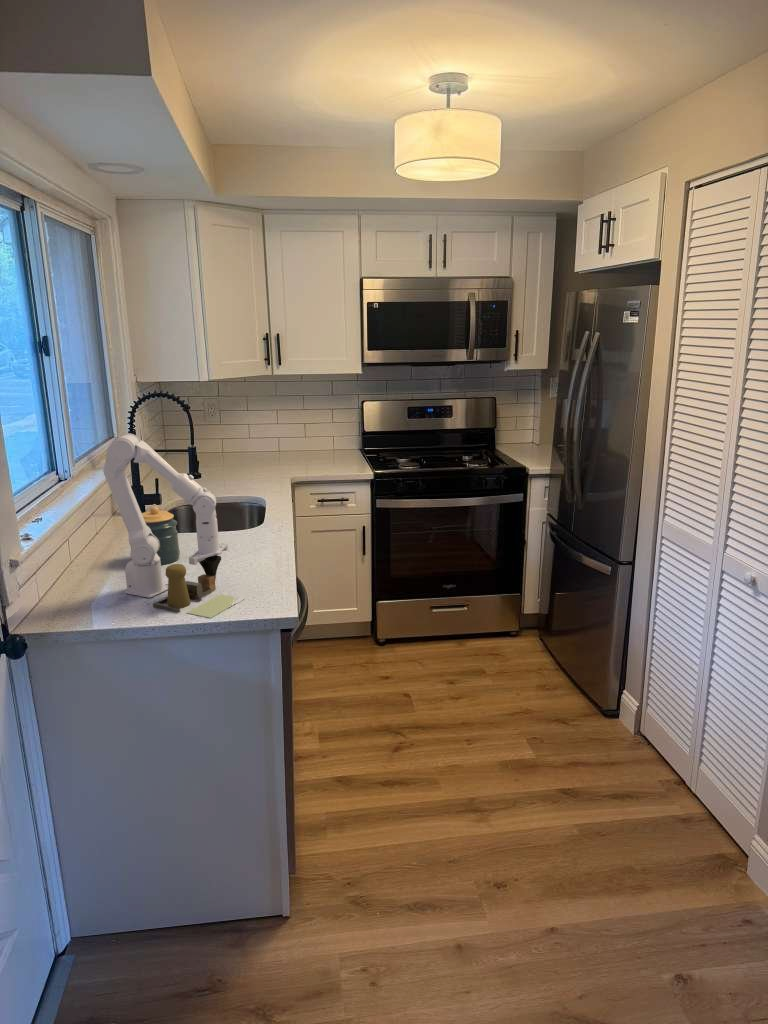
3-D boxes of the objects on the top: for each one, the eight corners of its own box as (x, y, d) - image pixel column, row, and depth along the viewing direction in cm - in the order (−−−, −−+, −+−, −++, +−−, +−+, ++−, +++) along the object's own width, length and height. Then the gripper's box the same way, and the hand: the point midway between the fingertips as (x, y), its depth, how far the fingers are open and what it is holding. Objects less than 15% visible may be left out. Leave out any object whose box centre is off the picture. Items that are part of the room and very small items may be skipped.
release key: (185, 596, 185) (183, 583, 185) (204, 587, 193) (203, 574, 192) (196, 599, 184) (195, 585, 183) (215, 589, 191) (214, 576, 190)
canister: (167, 567, 210) (162, 512, 206) (129, 565, 213) (123, 510, 208) (187, 554, 222) (182, 502, 218) (151, 552, 225) (146, 500, 220)
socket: (153, 607, 178) (151, 593, 177) (191, 589, 192) (190, 575, 191) (178, 612, 175) (176, 598, 174) (215, 593, 188) (214, 579, 187)
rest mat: (186, 613, 175) (186, 612, 175) (220, 594, 187) (220, 594, 187) (211, 618, 171) (211, 617, 171) (244, 599, 184) (244, 598, 183)
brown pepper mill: (193, 599, 184) (189, 561, 181) (187, 608, 178) (184, 568, 175) (170, 600, 183) (166, 561, 181) (164, 609, 178) (160, 569, 175)
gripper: (201, 544, 181) (205, 591, 184) (235, 530, 193) (238, 575, 197) (181, 541, 183) (185, 588, 187) (215, 527, 196) (219, 571, 200)
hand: (211, 581), depth 192 cm, fingers closed
